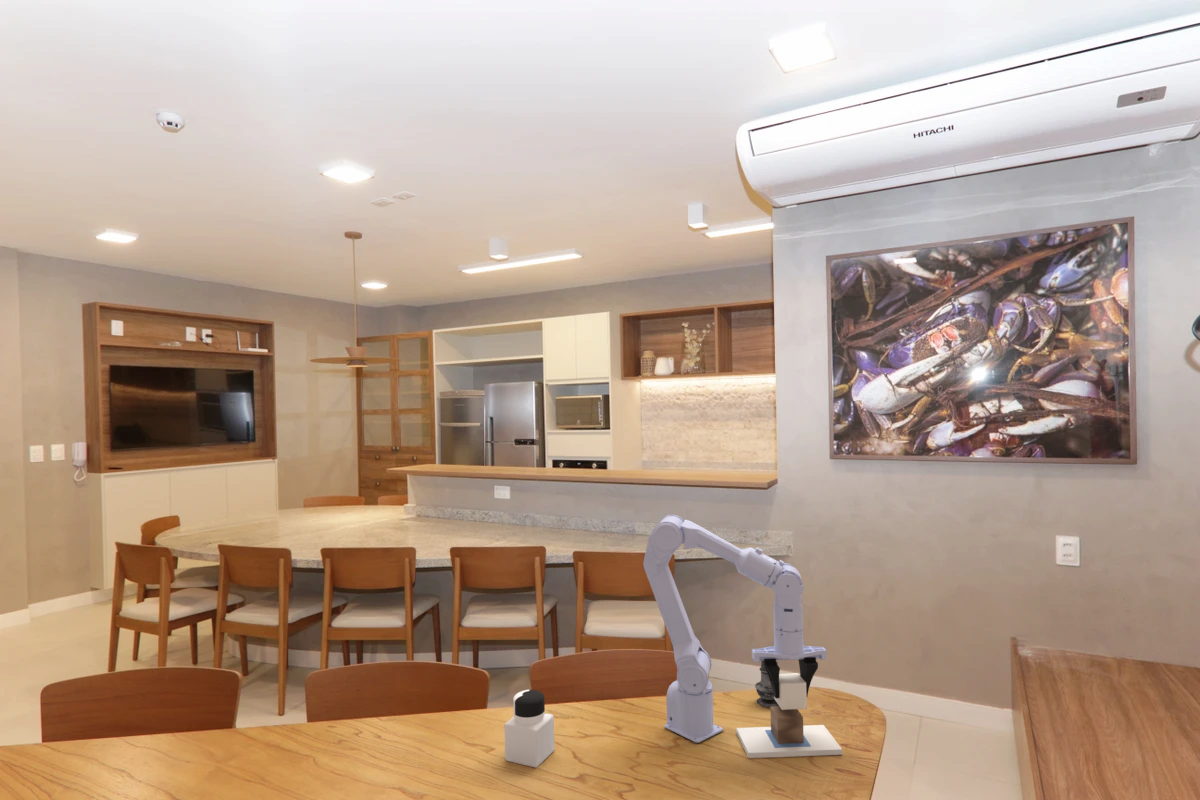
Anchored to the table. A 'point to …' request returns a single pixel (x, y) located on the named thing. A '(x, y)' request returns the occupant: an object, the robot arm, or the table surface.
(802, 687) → the cream block
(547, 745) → the medicine bottle
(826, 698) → the table surface
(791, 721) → the walnut block
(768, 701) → the grey tall round piece
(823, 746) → the board
